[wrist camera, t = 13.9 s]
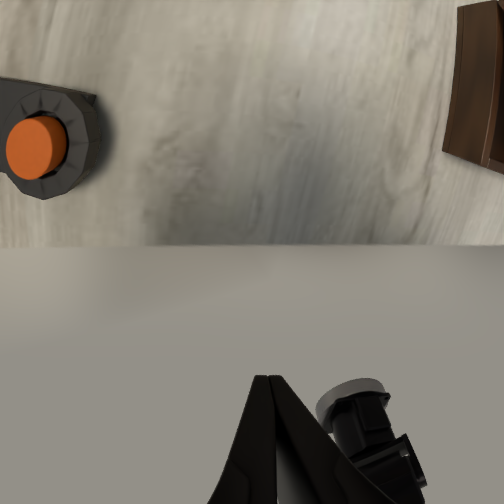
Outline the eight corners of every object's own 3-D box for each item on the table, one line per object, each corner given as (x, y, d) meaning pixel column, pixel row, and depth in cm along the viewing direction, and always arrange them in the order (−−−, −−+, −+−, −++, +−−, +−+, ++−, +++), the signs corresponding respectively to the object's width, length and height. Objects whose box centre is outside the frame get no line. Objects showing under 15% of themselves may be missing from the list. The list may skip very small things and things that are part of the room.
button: (73, 121, 14) (58, 125, 12) (61, 177, 15) (46, 187, 13) (28, 111, 13) (10, 114, 11) (18, 164, 14) (2, 172, 13)
